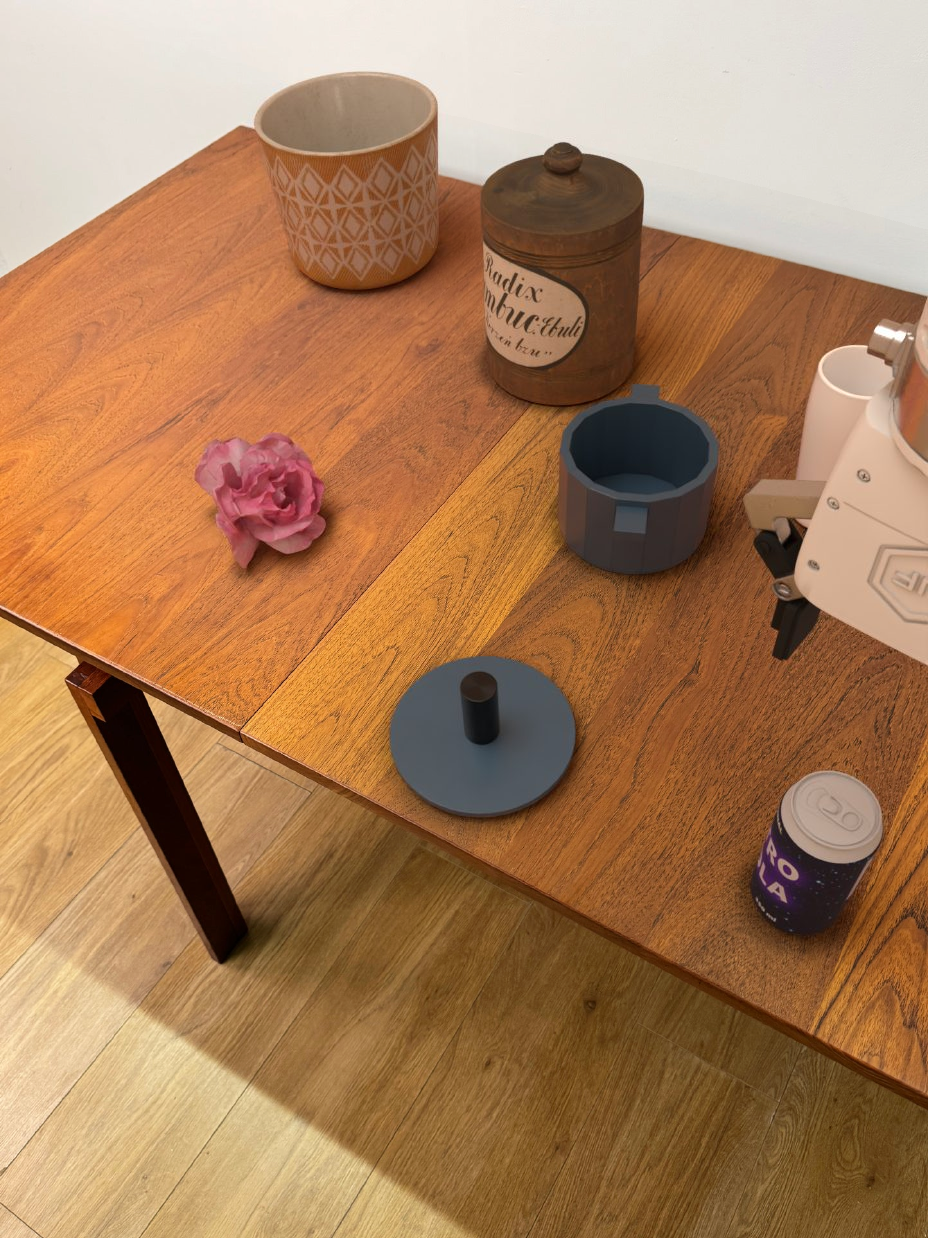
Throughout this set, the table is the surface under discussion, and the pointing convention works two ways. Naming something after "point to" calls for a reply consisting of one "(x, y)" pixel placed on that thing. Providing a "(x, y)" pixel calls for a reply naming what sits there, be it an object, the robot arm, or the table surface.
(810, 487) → the robot arm
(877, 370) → the drinking glass
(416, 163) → the planter
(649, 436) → the pot
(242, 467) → the flower
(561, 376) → the wooden container
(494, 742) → the pot lid
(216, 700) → the table surface
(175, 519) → the table surface
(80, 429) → the table surface
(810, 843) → the beverage can
